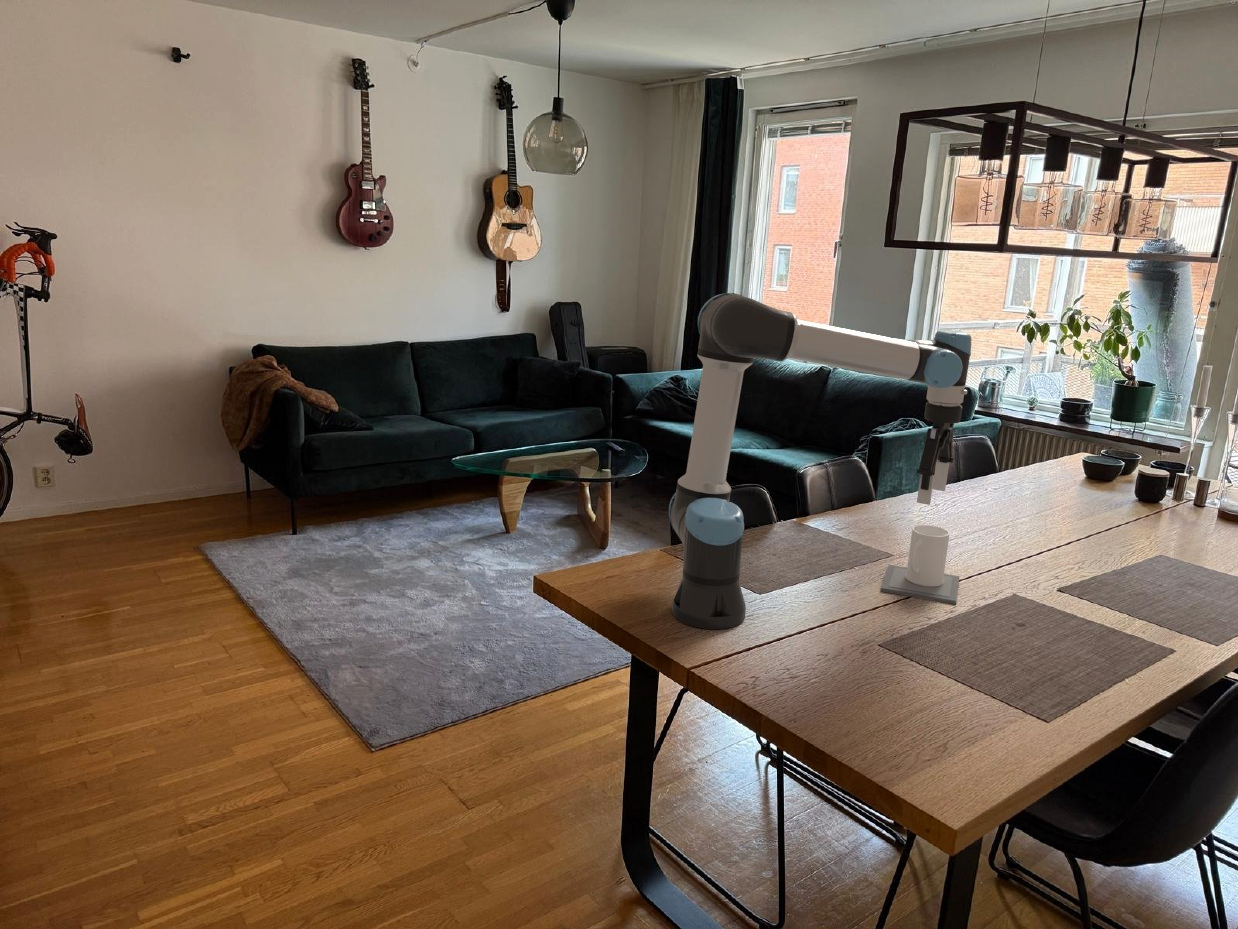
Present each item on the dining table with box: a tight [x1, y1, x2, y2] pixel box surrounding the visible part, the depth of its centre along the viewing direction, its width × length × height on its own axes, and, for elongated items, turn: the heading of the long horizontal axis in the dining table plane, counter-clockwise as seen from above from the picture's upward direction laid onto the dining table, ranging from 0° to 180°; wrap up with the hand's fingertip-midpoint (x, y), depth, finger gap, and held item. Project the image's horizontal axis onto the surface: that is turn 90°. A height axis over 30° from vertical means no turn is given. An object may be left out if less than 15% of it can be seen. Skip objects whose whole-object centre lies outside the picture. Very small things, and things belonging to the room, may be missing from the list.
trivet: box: [880, 564, 960, 605], centre depth 203 cm, size 16×16×1 cm
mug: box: [905, 524, 950, 587], centre depth 201 cm, size 12×8×12 cm
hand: (931, 496), depth 198 cm, fingers open, 13 cm apart
